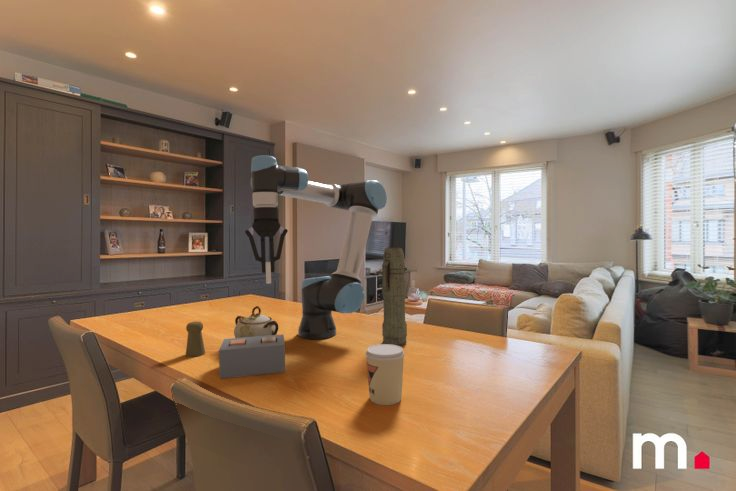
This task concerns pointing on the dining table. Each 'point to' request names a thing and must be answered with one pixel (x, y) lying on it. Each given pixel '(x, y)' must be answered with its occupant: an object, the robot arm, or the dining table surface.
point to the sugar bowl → (255, 325)
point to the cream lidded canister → (385, 373)
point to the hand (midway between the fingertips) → (268, 282)
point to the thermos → (394, 297)
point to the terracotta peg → (237, 342)
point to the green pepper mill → (194, 339)
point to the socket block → (252, 357)
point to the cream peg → (268, 339)
